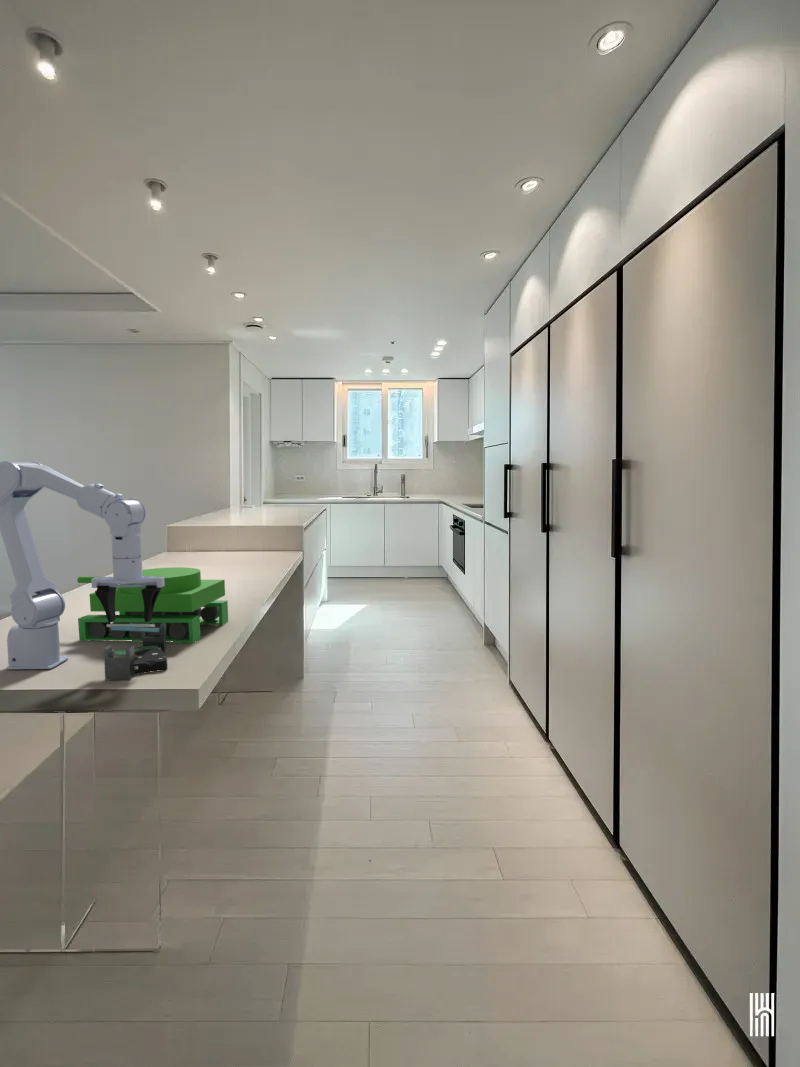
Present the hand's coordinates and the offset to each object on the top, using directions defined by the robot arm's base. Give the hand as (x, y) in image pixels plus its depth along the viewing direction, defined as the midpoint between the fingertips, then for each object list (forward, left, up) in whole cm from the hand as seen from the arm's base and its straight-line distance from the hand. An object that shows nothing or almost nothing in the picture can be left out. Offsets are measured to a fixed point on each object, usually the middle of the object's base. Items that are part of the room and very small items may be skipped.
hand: (129, 621), depth 140 cm
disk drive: (0, +4, -11) cm, 12 cm away
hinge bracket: (0, +14, -10) cm, 17 cm away
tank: (-9, +35, -11) cm, 38 cm away
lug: (0, -6, -10) cm, 12 cm away
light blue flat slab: (0, +4, -3) cm, 5 cm away
